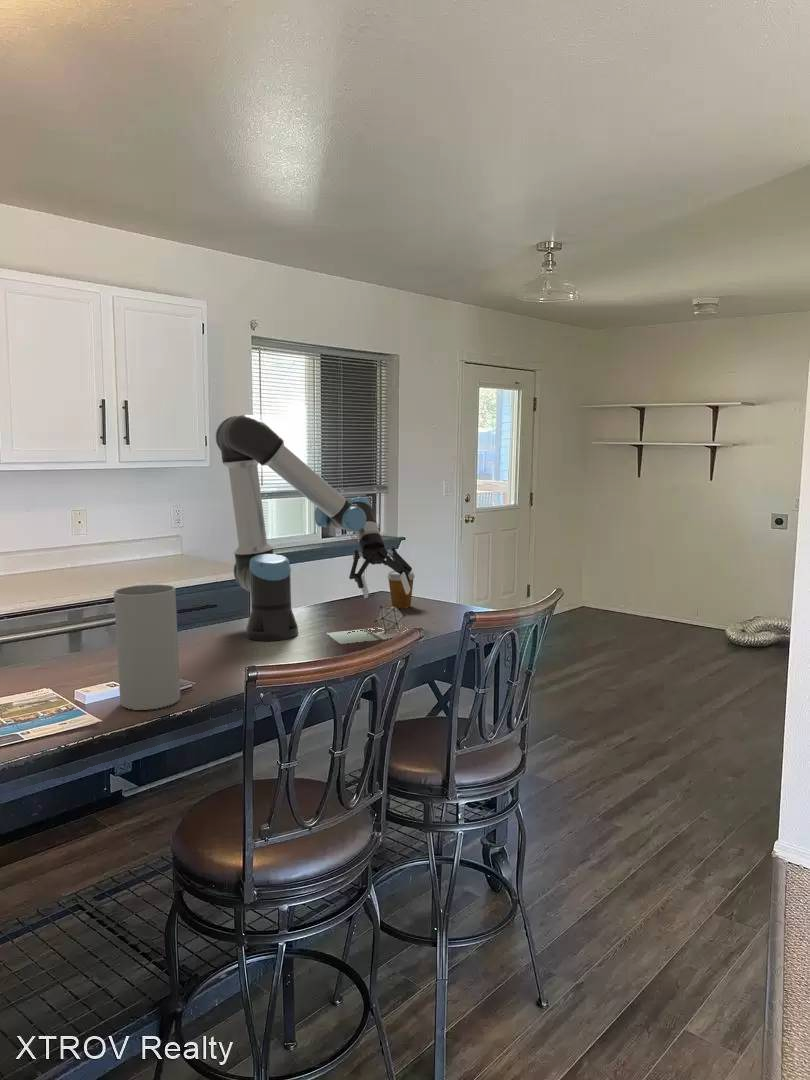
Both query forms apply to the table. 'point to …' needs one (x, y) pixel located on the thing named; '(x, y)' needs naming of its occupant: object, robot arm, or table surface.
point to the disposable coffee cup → (400, 590)
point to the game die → (390, 618)
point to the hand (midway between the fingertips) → (387, 593)
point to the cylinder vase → (147, 646)
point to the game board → (360, 636)
